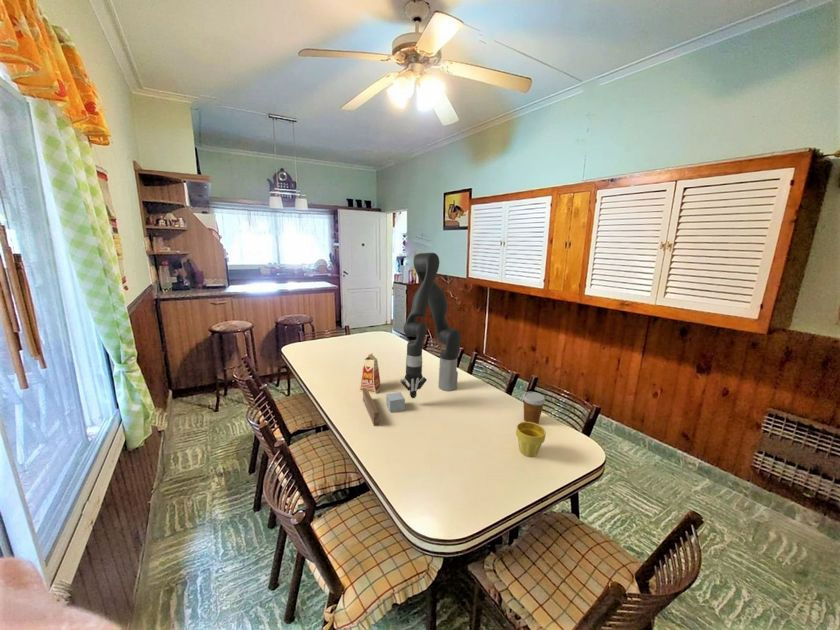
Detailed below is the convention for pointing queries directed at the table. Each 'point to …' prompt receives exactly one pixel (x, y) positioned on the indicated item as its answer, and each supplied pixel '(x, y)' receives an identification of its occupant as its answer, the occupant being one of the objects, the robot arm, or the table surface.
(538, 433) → the plant pot
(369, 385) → the milk carton
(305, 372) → the table surface
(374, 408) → the board
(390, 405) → the block
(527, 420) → the disposable coffee cup
